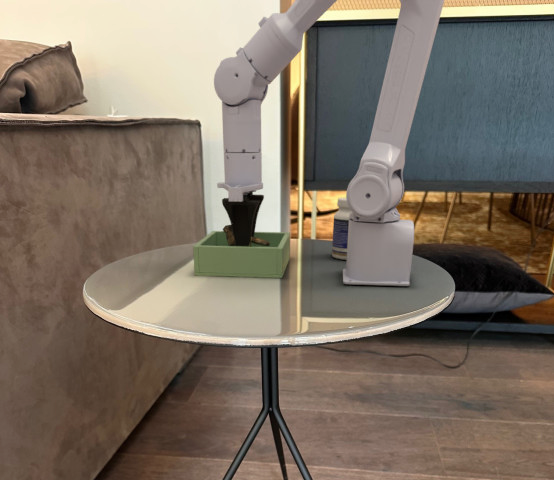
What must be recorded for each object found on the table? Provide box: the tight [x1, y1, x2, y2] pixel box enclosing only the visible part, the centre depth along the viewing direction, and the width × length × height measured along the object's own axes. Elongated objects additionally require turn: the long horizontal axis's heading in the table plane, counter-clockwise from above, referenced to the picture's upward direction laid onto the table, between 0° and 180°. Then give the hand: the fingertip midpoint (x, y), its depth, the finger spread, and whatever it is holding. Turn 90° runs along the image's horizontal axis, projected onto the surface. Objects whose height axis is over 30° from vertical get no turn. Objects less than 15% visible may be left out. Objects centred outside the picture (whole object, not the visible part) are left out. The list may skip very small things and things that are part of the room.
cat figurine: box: [222, 224, 270, 247], centre depth 84 cm, size 3×8×4 cm, turn 81°
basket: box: [192, 230, 291, 279], centre depth 85 cm, size 14×14×4 cm
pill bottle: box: [331, 197, 352, 261], centre depth 91 cm, size 6×6×10 cm
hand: (244, 243), depth 85 cm, fingers closed on cat figurine, 3 cm apart
